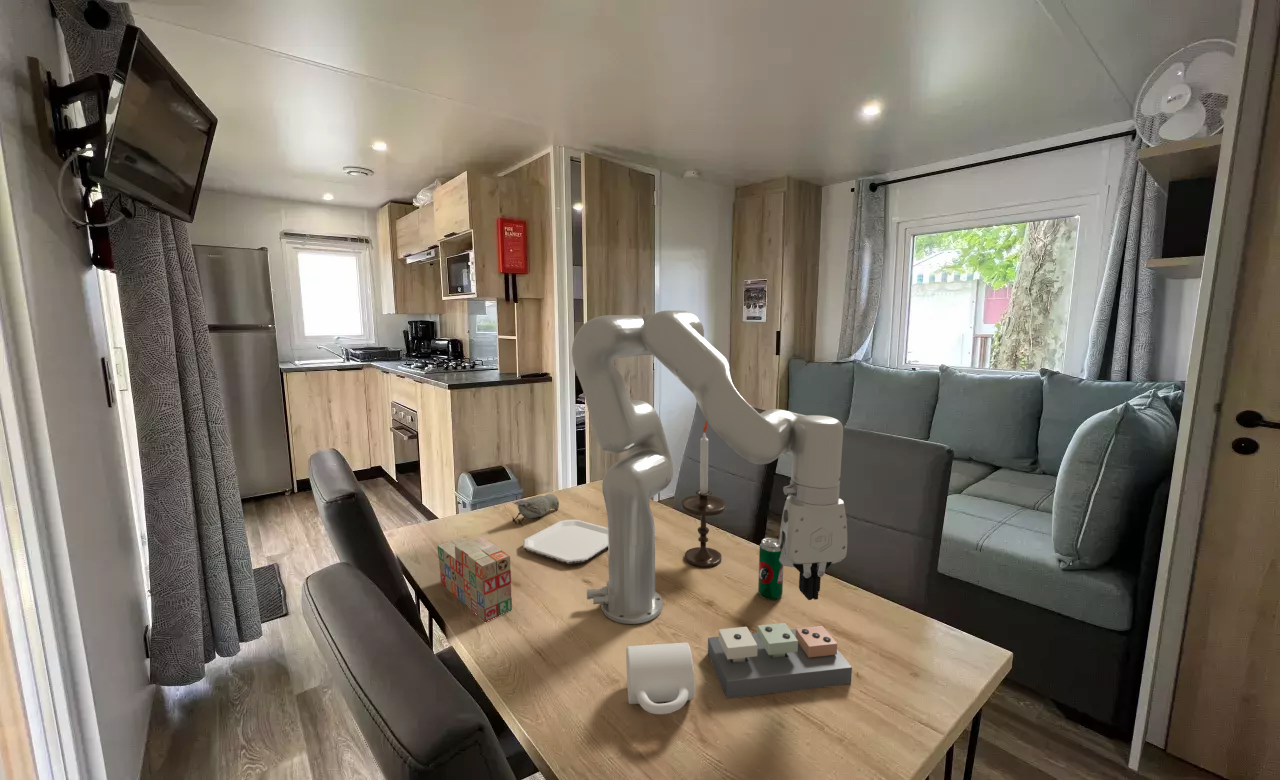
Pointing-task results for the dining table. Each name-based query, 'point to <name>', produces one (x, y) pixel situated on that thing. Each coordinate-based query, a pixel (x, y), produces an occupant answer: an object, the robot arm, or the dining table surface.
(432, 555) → the dining table surface
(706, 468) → the candlestick
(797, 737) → the dining table surface
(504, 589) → the stack of blocks
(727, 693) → the button panel
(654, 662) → the mug
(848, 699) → the dining table surface
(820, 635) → the button three
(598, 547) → the plate
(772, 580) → the soda can
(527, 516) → the decorative bird
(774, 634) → the button two
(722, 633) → the button one
